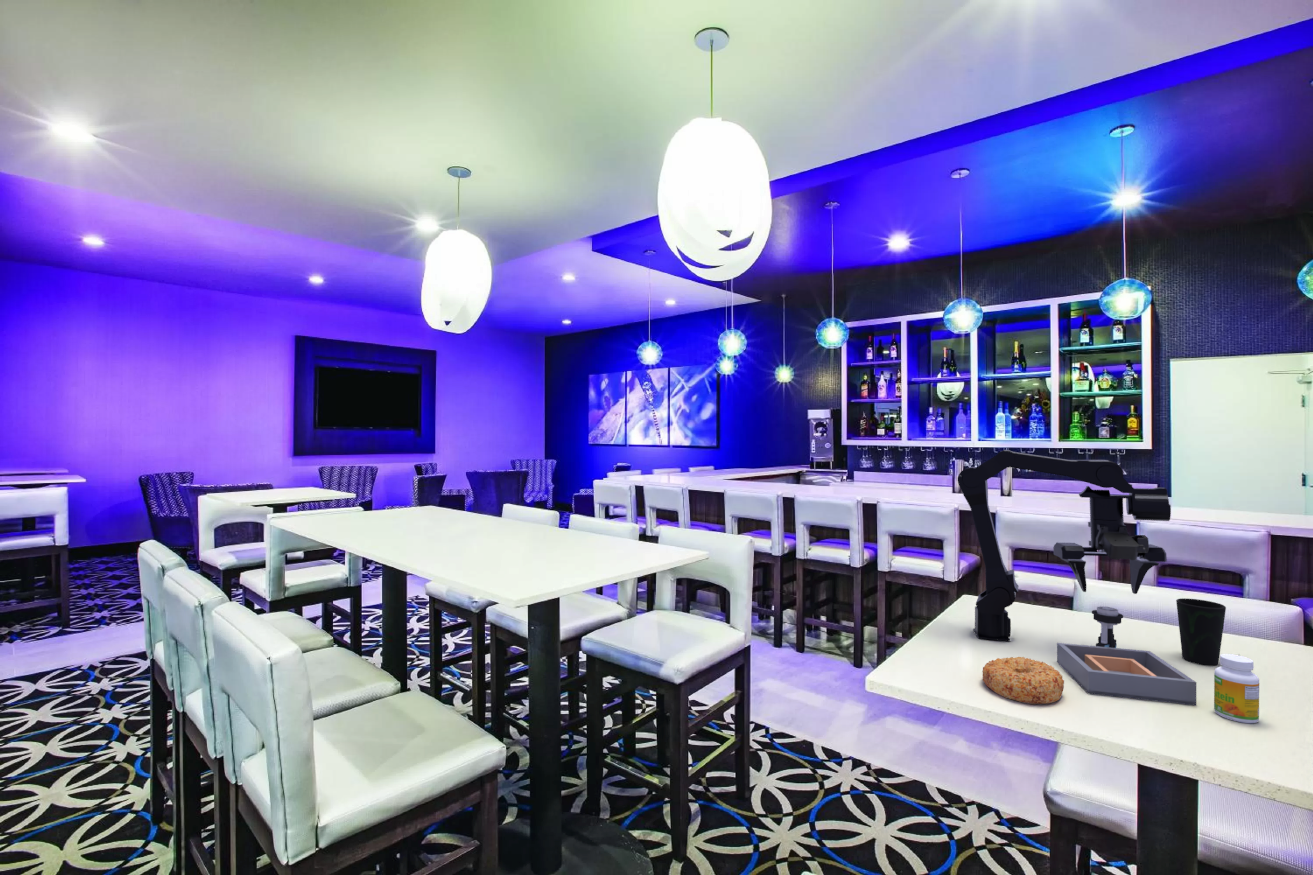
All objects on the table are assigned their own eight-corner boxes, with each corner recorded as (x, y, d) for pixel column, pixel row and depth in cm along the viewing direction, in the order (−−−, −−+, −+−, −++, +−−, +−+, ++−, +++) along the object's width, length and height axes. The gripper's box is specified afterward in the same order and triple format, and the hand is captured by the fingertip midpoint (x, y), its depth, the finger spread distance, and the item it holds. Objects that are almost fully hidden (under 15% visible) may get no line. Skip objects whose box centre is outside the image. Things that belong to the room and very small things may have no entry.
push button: (1100, 648, 132) (1100, 603, 132) (1129, 656, 128) (1130, 608, 128) (1087, 654, 128) (1087, 607, 128) (1116, 662, 124) (1117, 613, 124)
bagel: (1056, 684, 113) (1057, 657, 113) (1072, 713, 101) (1073, 683, 101) (979, 672, 118) (979, 647, 118) (985, 699, 106) (985, 671, 106)
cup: (1213, 657, 127) (1213, 600, 127) (1234, 669, 120) (1234, 609, 120) (1168, 652, 130) (1169, 596, 130) (1186, 664, 123) (1186, 606, 123)
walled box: (1088, 693, 108) (1088, 671, 108) (1056, 662, 124) (1057, 642, 124) (1196, 705, 104) (1196, 682, 104) (1149, 671, 119) (1149, 650, 119)
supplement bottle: (1204, 709, 102) (1205, 652, 102) (1233, 708, 103) (1234, 651, 103) (1238, 724, 97) (1238, 664, 97) (1268, 723, 97) (1269, 663, 97)
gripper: (1071, 523, 123) (1073, 599, 123) (1180, 524, 118) (1183, 604, 118) (1051, 516, 134) (1053, 587, 134) (1150, 517, 129) (1153, 591, 129)
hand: (1109, 592), depth 128 cm, fingers open, 9 cm apart
